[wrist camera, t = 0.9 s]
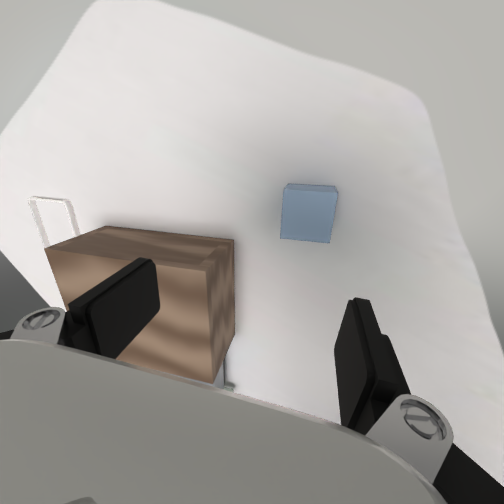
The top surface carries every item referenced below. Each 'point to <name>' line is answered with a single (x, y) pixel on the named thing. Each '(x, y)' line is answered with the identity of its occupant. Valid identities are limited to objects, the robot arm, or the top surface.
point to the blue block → (308, 212)
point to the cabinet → (161, 293)
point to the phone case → (39, 222)
